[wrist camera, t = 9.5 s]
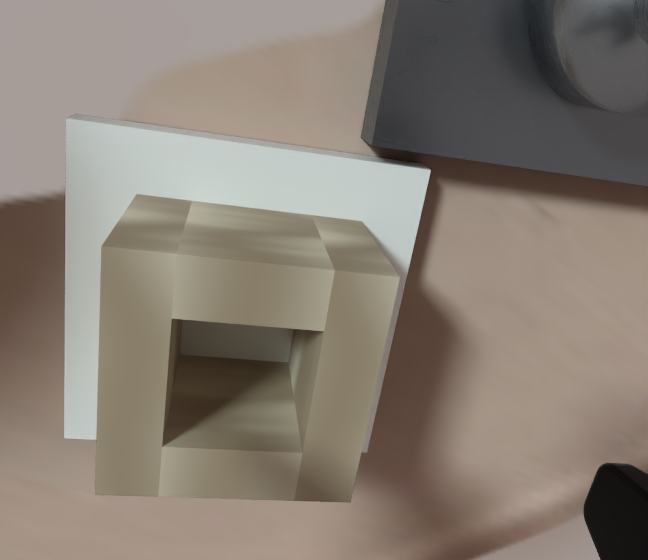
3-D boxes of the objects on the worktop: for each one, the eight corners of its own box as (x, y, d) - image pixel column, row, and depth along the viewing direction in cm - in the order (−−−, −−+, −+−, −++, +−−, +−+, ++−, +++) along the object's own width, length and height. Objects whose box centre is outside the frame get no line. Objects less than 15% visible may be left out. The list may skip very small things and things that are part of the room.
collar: (361, 221, 17) (400, 276, 13) (326, 405, 20) (350, 502, 15) (136, 193, 16) (101, 246, 12) (127, 392, 18) (95, 494, 14)
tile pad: (421, 163, 18) (430, 169, 17) (361, 435, 21) (367, 452, 20) (75, 113, 16) (65, 118, 15) (72, 419, 20) (64, 438, 19)
